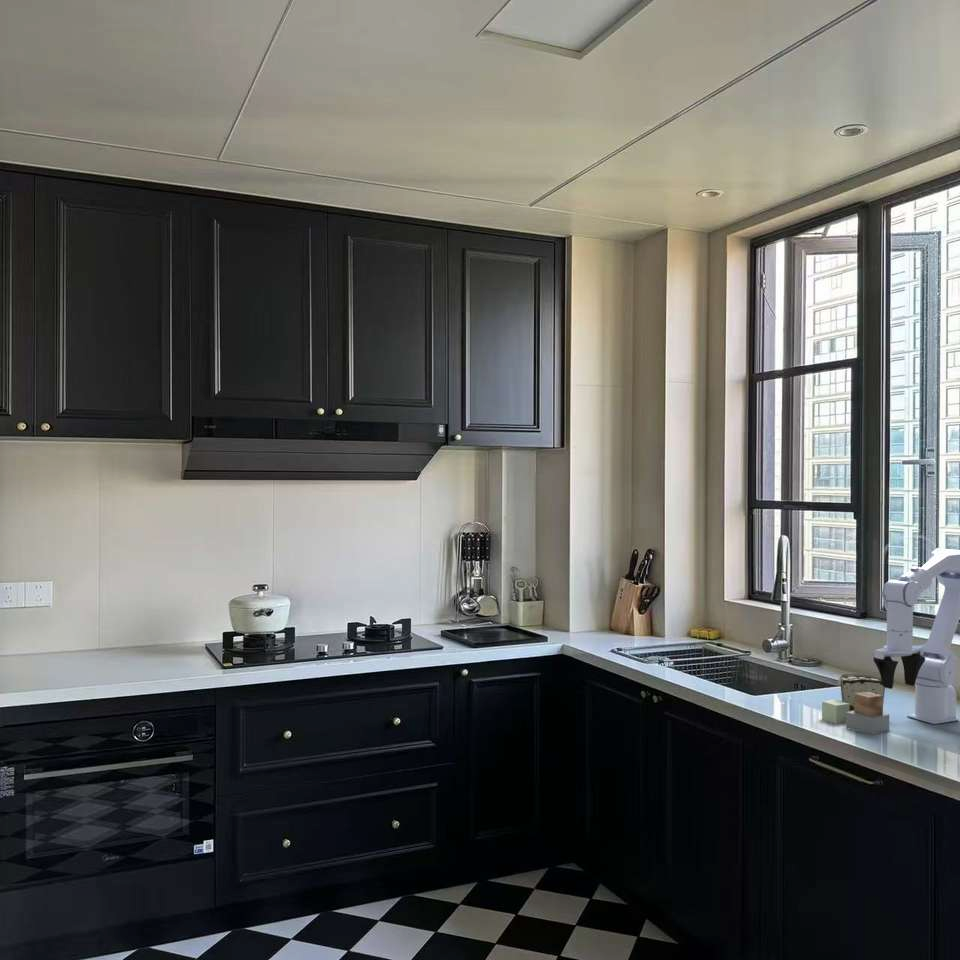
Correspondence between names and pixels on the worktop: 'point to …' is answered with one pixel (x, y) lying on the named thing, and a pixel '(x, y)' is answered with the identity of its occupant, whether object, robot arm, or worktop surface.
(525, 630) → the worktop surface
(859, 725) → the slate block
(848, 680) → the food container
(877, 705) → the walnut cube
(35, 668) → the worktop surface
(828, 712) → the sage cube
